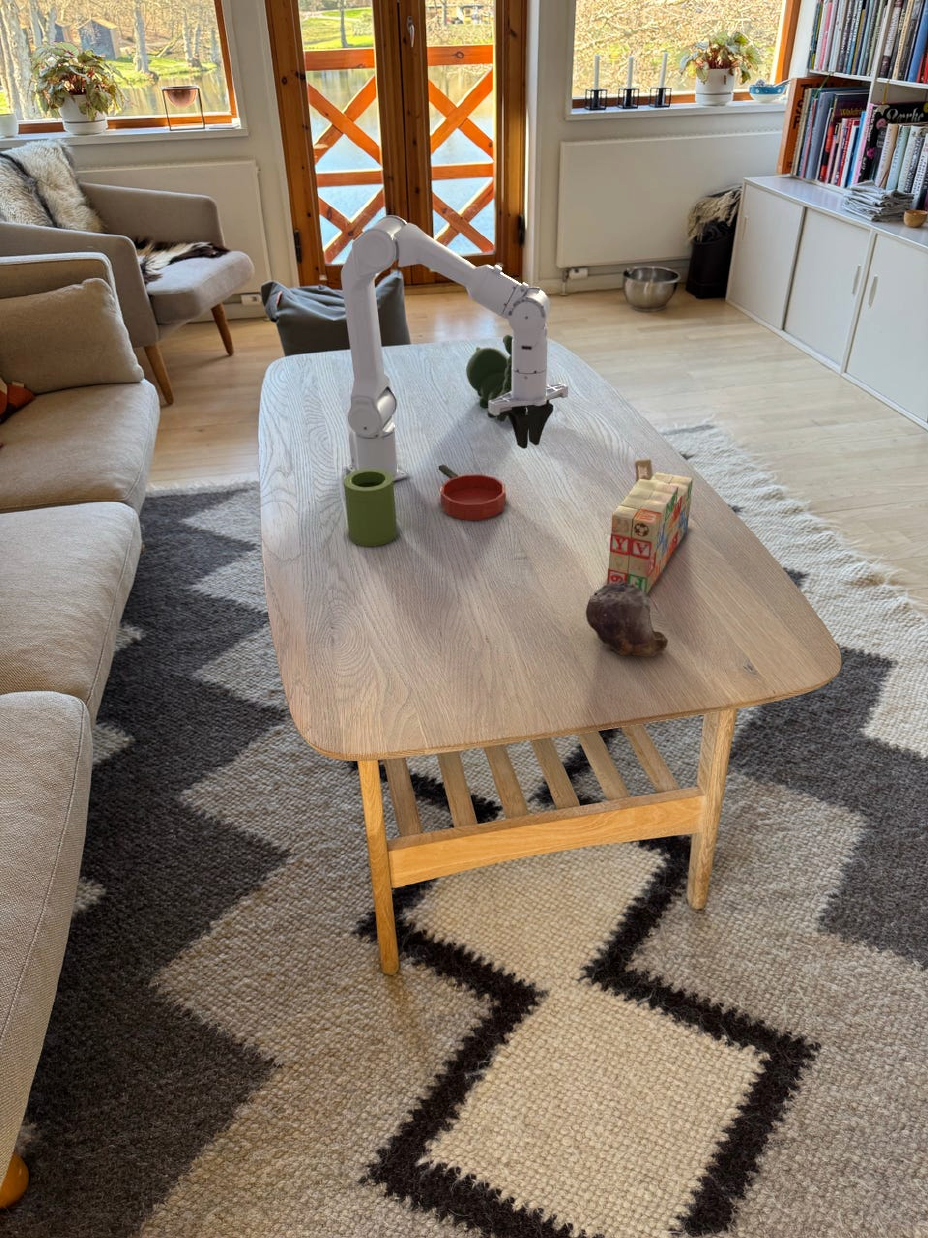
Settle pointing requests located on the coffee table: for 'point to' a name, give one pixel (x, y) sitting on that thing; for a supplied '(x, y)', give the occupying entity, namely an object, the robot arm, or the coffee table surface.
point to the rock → (624, 620)
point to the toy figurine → (491, 374)
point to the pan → (472, 495)
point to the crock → (370, 506)
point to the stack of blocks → (648, 529)
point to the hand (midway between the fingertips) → (528, 444)
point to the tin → (643, 470)
